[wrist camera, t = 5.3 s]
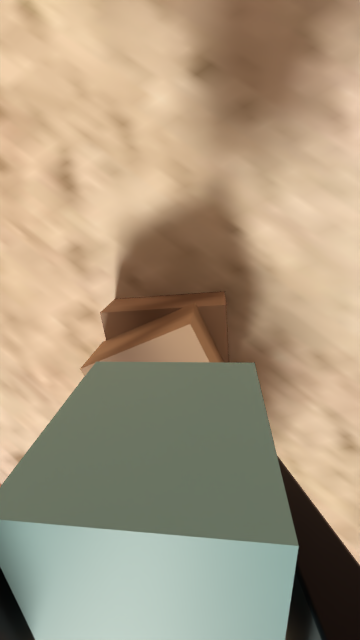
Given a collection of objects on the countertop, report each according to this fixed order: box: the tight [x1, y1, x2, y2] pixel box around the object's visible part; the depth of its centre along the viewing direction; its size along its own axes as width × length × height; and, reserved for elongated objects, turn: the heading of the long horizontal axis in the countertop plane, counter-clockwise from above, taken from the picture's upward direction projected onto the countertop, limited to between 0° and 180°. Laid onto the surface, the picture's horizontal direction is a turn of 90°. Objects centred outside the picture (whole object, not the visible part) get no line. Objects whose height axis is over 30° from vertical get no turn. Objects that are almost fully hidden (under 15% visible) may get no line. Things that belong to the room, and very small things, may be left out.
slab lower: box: [100, 291, 229, 363], centre depth 18 cm, size 7×7×3 cm
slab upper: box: [80, 303, 225, 376], centre depth 15 cm, size 6×6×3 cm
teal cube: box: [0, 362, 299, 640], centre depth 7 cm, size 4×4×4 cm
